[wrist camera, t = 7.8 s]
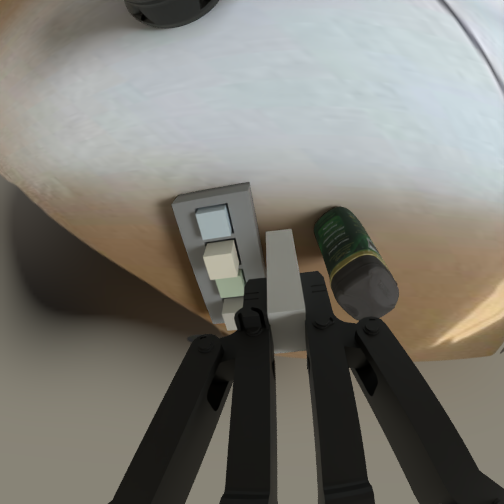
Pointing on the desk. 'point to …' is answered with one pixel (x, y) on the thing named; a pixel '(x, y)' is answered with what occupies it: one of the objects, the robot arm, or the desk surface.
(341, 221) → the coffee jar
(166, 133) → the desk surface
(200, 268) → the keypad
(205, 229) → the key blue
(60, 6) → the desk surface
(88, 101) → the desk surface
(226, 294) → the key sage
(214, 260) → the key cream
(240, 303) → the key grey
